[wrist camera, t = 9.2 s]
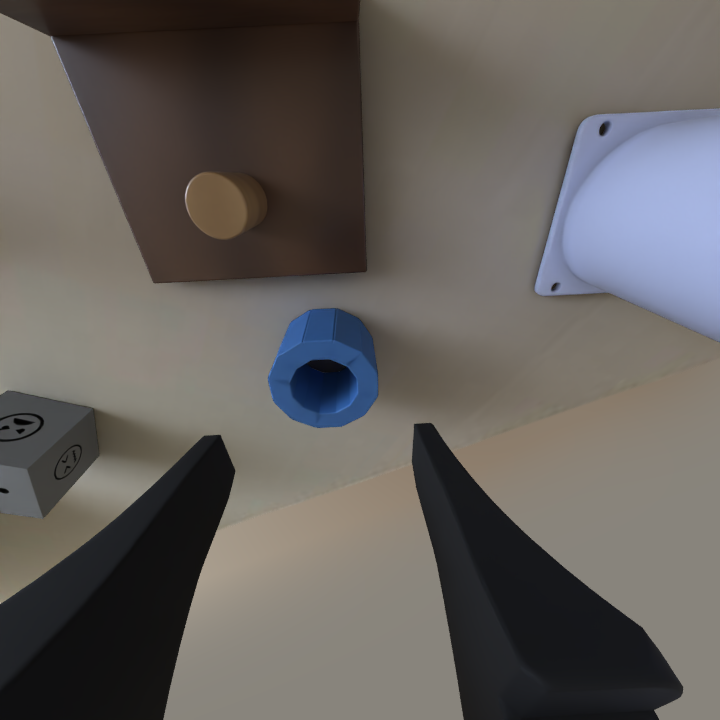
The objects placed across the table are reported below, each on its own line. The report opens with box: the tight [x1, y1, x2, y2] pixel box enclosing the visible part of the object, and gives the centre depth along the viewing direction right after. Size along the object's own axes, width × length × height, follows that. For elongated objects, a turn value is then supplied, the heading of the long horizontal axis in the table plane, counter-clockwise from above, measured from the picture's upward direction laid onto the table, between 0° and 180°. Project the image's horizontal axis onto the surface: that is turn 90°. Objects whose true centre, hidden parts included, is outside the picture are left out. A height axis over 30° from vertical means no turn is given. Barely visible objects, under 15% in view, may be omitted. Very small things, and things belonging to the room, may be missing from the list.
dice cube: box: [0, 391, 99, 519], centre depth 19 cm, size 5×5×5 cm
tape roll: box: [268, 308, 378, 428], centre depth 17 cm, size 6×6×4 cm
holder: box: [0, 0, 367, 283], centre depth 11 cm, size 11×10×5 cm
